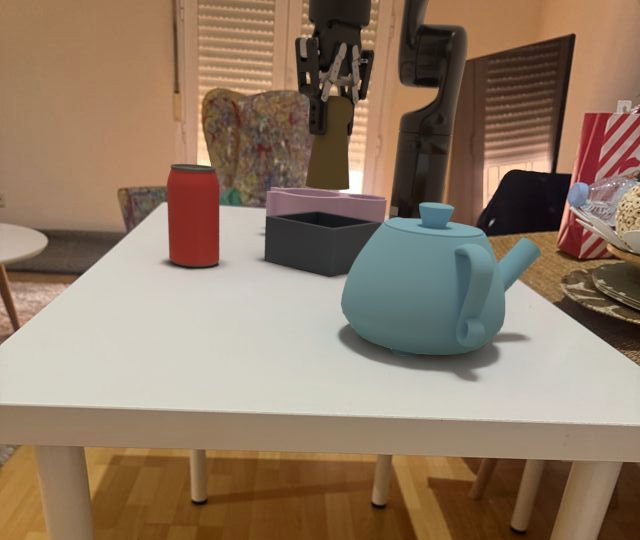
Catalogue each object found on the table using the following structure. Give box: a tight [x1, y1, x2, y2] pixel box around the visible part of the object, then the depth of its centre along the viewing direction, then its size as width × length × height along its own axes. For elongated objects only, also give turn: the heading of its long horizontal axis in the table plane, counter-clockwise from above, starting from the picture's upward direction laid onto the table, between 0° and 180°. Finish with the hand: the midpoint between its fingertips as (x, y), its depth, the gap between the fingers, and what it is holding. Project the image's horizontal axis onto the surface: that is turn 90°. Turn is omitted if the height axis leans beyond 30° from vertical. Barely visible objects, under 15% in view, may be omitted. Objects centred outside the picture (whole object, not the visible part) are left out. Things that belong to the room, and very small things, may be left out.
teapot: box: [340, 203, 542, 357], centre depth 59 cm, size 20×20×13 cm
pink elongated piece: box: [265, 186, 388, 223], centre depth 108 cm, size 20×12×7 cm, turn 88°
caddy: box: [263, 211, 382, 277], centre depth 88 cm, size 12×12×6 cm
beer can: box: [166, 163, 220, 268], centre depth 81 cm, size 7×7×12 cm
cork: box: [304, 94, 353, 191], centre depth 82 cm, size 6×6×11 cm
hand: (330, 134), depth 82 cm, fingers closed on cork, 5 cm apart
